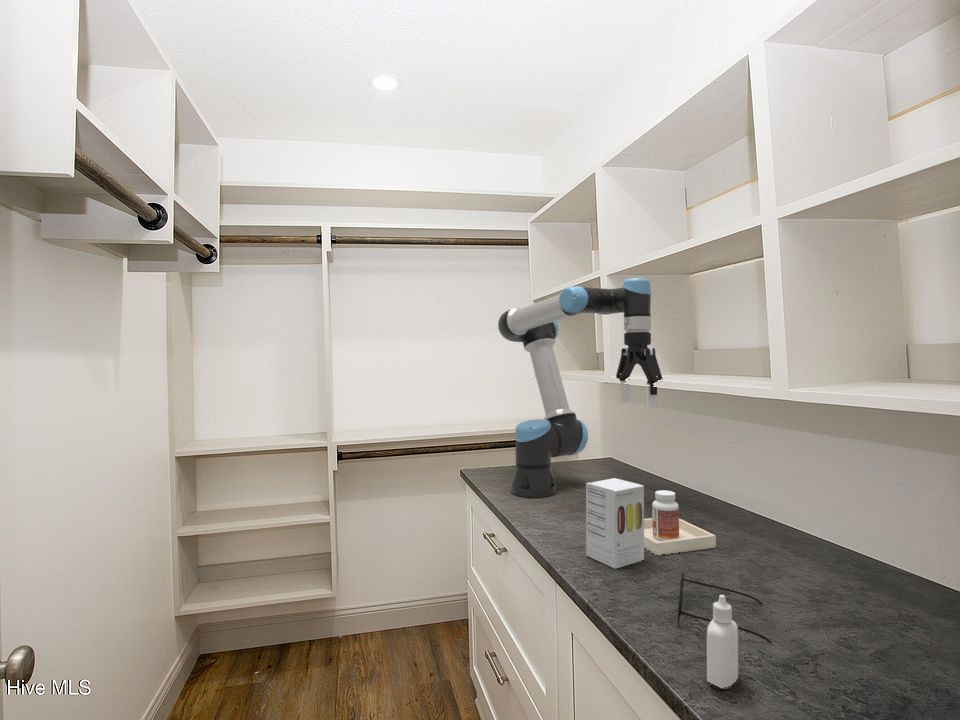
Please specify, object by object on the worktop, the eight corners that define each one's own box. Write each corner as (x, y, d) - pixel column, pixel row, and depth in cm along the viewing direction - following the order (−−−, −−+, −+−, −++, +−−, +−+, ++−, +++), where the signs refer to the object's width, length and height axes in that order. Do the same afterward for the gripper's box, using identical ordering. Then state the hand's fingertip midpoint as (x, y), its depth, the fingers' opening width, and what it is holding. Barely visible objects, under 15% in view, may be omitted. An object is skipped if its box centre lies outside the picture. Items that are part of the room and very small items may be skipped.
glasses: (679, 594, 103) (682, 569, 102) (765, 616, 97) (769, 590, 97) (676, 630, 89) (679, 601, 89) (776, 659, 84) (780, 628, 83)
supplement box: (615, 570, 113) (614, 491, 113) (584, 556, 121) (584, 482, 121) (645, 560, 118) (645, 484, 118) (614, 547, 126) (614, 476, 126)
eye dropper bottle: (695, 674, 77) (695, 591, 76) (729, 667, 78) (728, 586, 78) (716, 693, 72) (715, 605, 72) (751, 686, 74) (750, 600, 73)
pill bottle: (684, 538, 129) (684, 493, 129) (668, 543, 126) (668, 497, 126) (663, 531, 134) (662, 487, 134) (647, 536, 131) (646, 491, 131)
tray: (619, 532, 136) (619, 521, 136) (673, 526, 140) (673, 515, 140) (656, 555, 120) (656, 543, 120) (715, 547, 125) (715, 535, 125)
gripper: (604, 333, 166) (605, 401, 166) (651, 329, 142) (652, 409, 142) (625, 333, 168) (626, 400, 168) (675, 329, 144) (676, 408, 144)
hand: (638, 404), depth 155 cm, fingers open, 13 cm apart
